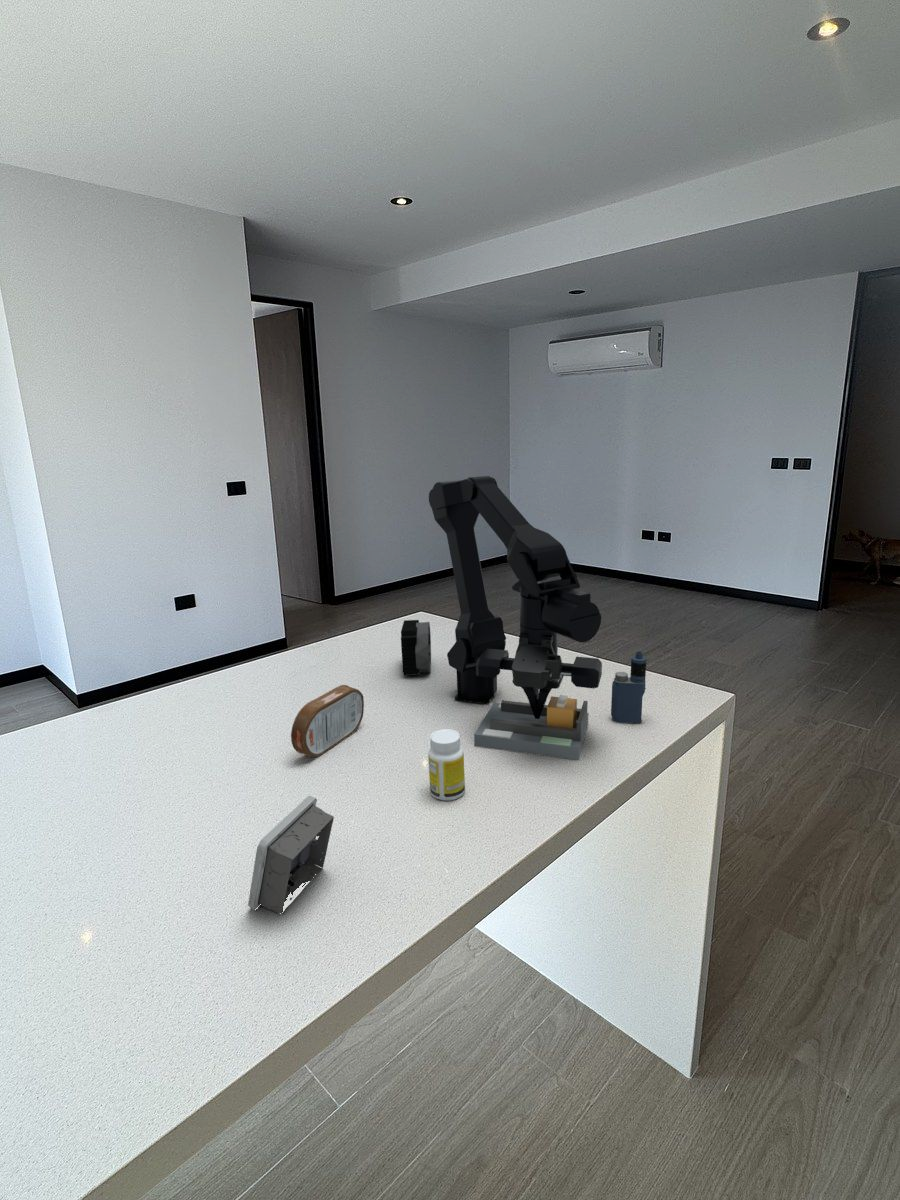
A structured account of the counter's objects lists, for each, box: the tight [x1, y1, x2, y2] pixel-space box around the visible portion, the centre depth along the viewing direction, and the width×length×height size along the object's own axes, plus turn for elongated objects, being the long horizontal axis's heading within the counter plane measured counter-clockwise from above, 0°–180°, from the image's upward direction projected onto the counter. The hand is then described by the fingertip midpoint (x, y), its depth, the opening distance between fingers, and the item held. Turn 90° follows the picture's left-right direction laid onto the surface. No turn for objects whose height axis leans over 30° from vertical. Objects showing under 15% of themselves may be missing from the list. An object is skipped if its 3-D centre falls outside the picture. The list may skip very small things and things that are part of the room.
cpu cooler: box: [400, 619, 432, 676], centre depth 127 cm, size 10×6×10 cm, turn 179°
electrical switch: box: [247, 795, 335, 915], centre depth 67 cm, size 9×5×9 cm, turn 158°
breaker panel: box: [473, 699, 590, 761], centre depth 100 cm, size 16×12×5 cm
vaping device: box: [610, 650, 647, 724], centre depth 103 cm, size 3×5×12 cm, turn 79°
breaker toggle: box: [547, 694, 578, 728], centre depth 98 cm, size 4×4×5 cm
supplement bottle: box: [427, 728, 466, 801], centre depth 85 cm, size 5×5×8 cm
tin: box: [290, 684, 365, 758], centre depth 99 cm, size 15×3×8 cm, turn 150°
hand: (537, 717), depth 99 cm, fingers closed
